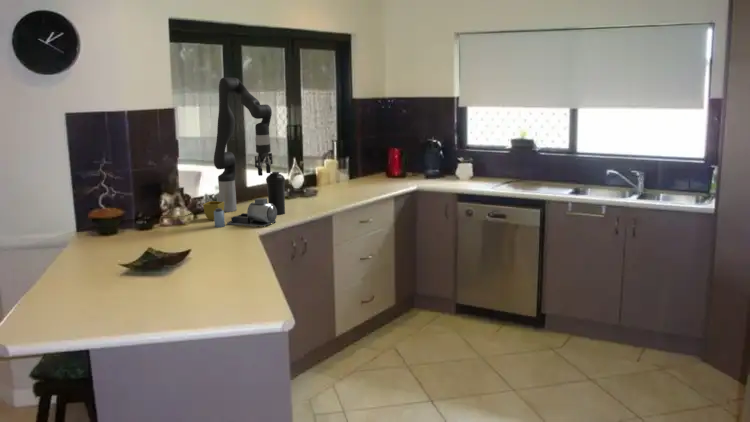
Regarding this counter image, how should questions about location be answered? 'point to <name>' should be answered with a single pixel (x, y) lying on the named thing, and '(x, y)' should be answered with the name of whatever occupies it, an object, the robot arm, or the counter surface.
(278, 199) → the water bottle
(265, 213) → the electric motor
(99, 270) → the counter surface
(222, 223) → the blue capped cylinder
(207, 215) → the flower pot
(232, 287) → the counter surface
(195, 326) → the counter surface
